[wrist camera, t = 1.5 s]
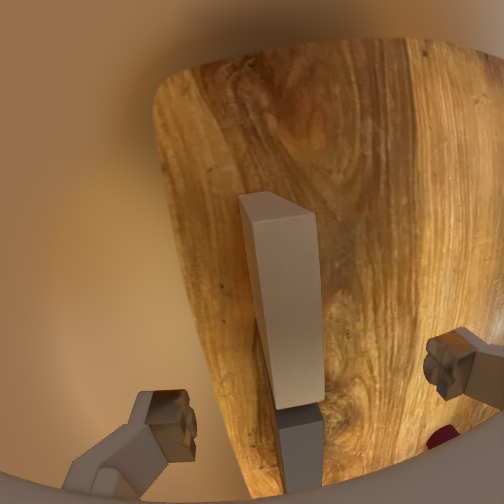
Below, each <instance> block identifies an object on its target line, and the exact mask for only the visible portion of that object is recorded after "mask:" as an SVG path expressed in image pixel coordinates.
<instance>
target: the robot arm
mask: <svg viewBox="0 0 504 504" xmlns="http://www.w3.org/2000/svg"><path fill="white" fill-rule="evenodd" d="M426 350H427V352H428V355H427V356H426V358H425V359H424V364H423V370H424V375H425V377H426V379H427V381H428V382H429V383H430V384H433V385H436V386H437V390H436V391H437V392H438V393H439V394H440V395H441V396H442V398H443V399H444V400H445V401H448V400H450V399H452V398H455V397H457V396H459V395H461V394H464V395H467V396H469V397H471V398H474V399H476V400H478V401H481V402H483V403H485V404H488V405H490V406H493V407H495V408H497V409H500V410H501V411H500V412H498V413H497V414H495V415H494V416H492V417H490V418H489V419H487V420H485V421H484V422H482V423H480V424H479V425H477V426H475V427H473V428H472V429H470V430H468V431H466V432H464V433H463V434H461V435H459V436H457V437H455V438H453V439H451V440H449V441H447V442H445V443H443V444H441V445H439V446H437V447H435V448H432V449H430V450H428V451H426V452H424V453H421V454H419V455H417V456H414V457H412V458H410V459H407V460H405V461H402V462H400V463H397V464H394V465H392V466H389V467H386V468H383V469H380V470H378V471H375V472H372V473H369V474H366V475H362V476H359V477H356V478H352V479H349V480H345V481H342V482H338V483H334V484H330V485H326V486H322V487H318V488H314V489H309V490H304V491H299V492H294V493H289V494H283V495H277V496H270V497H263V498H255V499H247V500H237V501H224V502H205V503H165V502H145V501H141V500H140V497H141V496H142V495H143V494H144V493H145V492H146V490H147V489H148V488H149V487H150V486H151V485H152V483H153V482H154V481H155V480H156V479H157V477H158V476H159V475H160V474H161V473H162V471H163V470H164V469H165V468H166V467H167V465H168V463H174V462H192V461H195V453H196V445H195V442H194V440H193V439H194V438H195V437H196V436H197V423H196V417H195V413H194V410H193V409H192V408H191V407H190V406H189V400H190V398H189V396H188V393H187V391H186V390H185V389H180V390H158V391H141V392H139V393H138V395H137V398H136V401H135V404H134V406H133V409H132V412H131V415H130V418H129V421H128V424H123V425H122V426H121V427H119V428H118V429H116V430H115V431H114V432H112V433H111V434H110V435H108V436H107V437H106V438H104V439H103V440H102V441H100V442H99V443H98V444H96V445H95V446H94V447H92V448H91V449H89V450H88V451H87V452H85V453H84V454H83V455H81V456H80V457H78V458H77V459H76V460H75V461H73V462H72V464H71V466H70V469H69V471H68V473H67V476H66V478H65V481H64V483H63V486H62V488H61V489H58V488H54V487H50V486H46V485H42V484H39V483H35V482H31V481H28V480H25V479H22V478H19V477H16V476H13V475H9V474H7V473H4V472H1V471H0V504H504V346H500V345H495V344H490V345H488V344H487V343H485V342H484V341H483V340H481V339H480V338H479V337H477V336H476V335H474V334H473V333H472V332H470V331H469V330H468V329H466V328H465V327H459V328H456V329H454V330H451V331H450V332H447V333H444V334H442V335H439V336H436V337H433V338H430V339H429V340H428V342H427V345H426Z"/></svg>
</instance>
